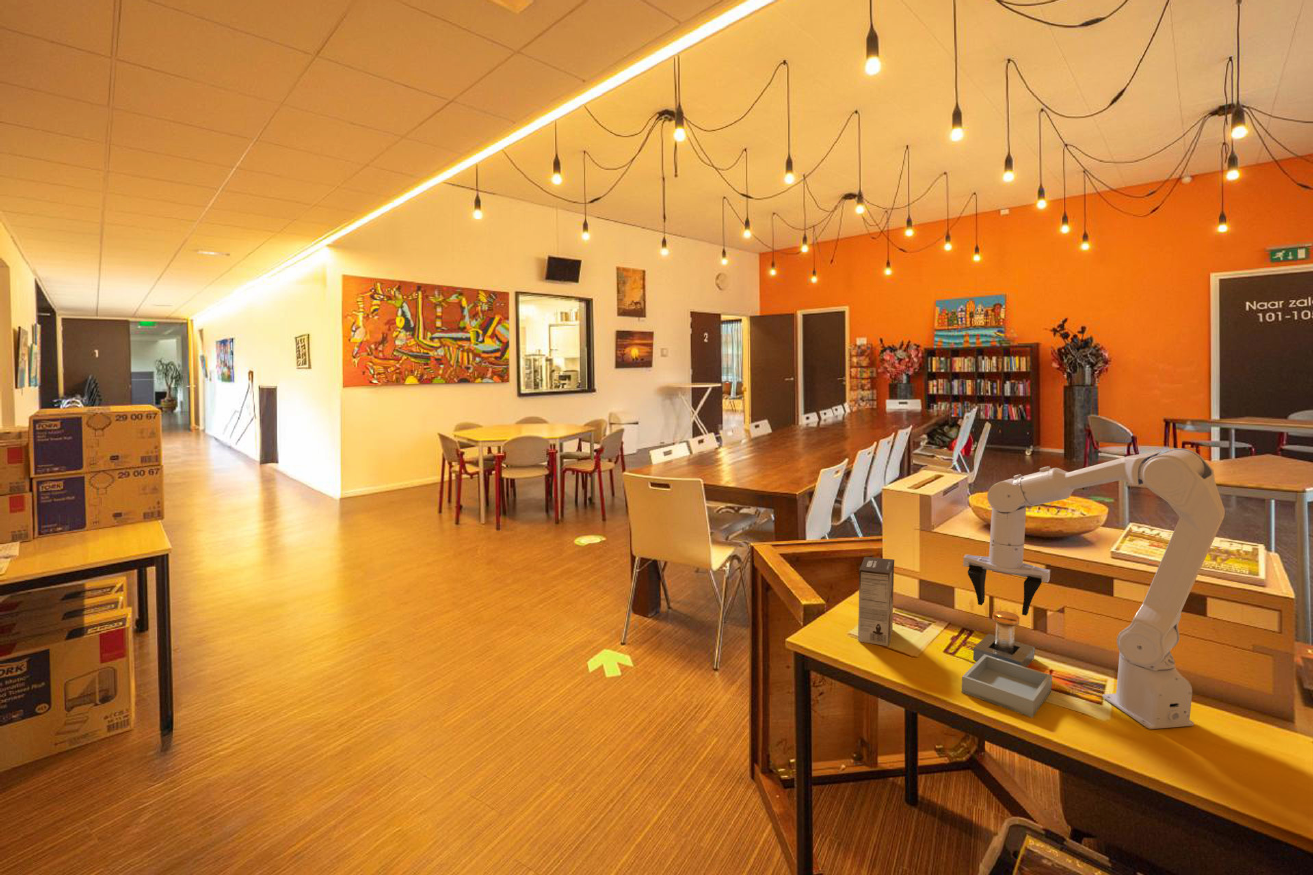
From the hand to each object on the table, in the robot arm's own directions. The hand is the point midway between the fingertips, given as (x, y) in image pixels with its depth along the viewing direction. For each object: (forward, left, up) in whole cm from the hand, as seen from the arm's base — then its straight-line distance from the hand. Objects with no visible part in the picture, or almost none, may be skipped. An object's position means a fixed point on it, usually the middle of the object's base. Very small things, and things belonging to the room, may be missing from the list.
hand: (1002, 608), depth 119 cm
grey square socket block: (0, -1, -10) cm, 10 cm away
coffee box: (+13, +20, -11) cm, 26 cm away
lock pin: (0, -1, -10) cm, 10 cm away
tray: (-11, +6, -10) cm, 17 cm away
